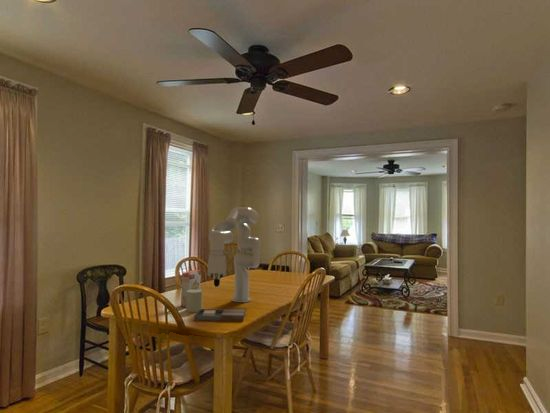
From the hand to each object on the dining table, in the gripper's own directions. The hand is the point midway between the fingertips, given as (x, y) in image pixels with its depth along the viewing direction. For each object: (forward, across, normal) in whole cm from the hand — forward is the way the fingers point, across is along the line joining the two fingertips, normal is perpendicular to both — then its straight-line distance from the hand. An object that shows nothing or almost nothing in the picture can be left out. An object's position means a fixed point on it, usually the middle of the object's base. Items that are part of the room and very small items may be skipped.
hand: (216, 286), depth 192 cm
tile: (+14, +4, +1) cm, 14 cm away
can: (+17, +15, -13) cm, 27 cm away
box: (+17, +4, 0) cm, 17 cm away
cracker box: (+17, +20, -26) cm, 37 cm away
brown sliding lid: (+17, -10, 0) cm, 20 cm away
